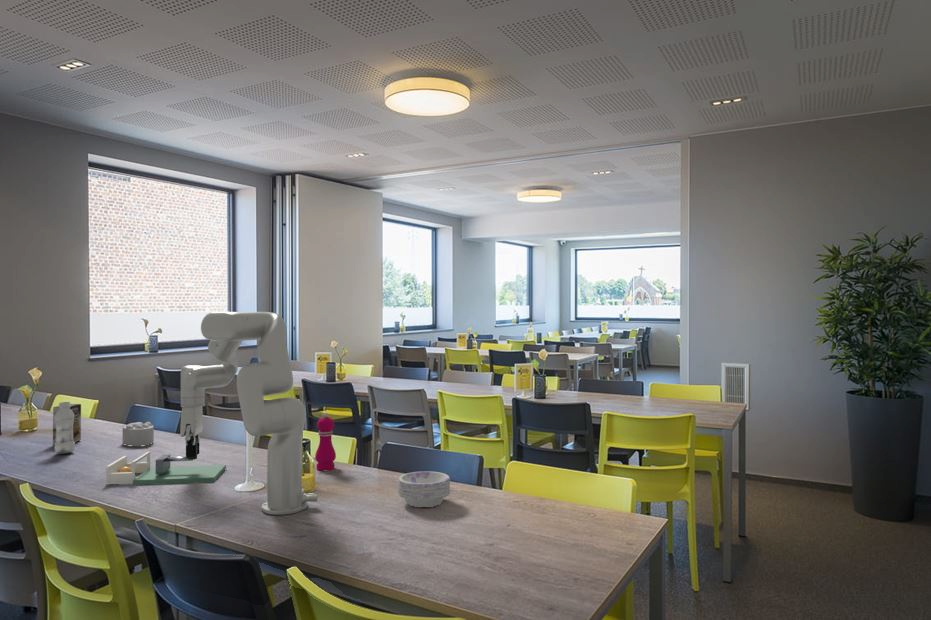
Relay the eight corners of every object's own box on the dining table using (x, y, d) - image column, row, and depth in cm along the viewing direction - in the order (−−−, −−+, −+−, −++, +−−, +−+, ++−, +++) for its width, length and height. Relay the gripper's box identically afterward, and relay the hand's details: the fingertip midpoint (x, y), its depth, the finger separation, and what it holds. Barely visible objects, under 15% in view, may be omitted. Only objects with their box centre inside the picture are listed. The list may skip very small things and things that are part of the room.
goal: (150, 472, 211) (150, 451, 211) (134, 483, 197) (134, 461, 197) (124, 473, 210) (124, 452, 209) (106, 484, 196) (106, 462, 196)
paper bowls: (426, 492, 189) (426, 467, 189) (460, 503, 178) (460, 476, 178) (387, 503, 179) (387, 476, 179) (421, 516, 168) (421, 487, 168)
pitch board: (225, 469, 215) (225, 464, 215) (213, 481, 200) (213, 477, 200) (151, 471, 212) (151, 467, 212) (132, 484, 196) (132, 480, 196)
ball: (136, 472, 205) (129, 462, 205) (131, 475, 201) (124, 465, 201) (125, 479, 205) (119, 469, 205) (120, 482, 201) (114, 472, 201)
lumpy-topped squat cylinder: (144, 439, 263) (144, 419, 263) (159, 443, 256) (159, 423, 256) (119, 443, 255) (119, 423, 255) (134, 448, 247) (134, 427, 247)
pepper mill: (330, 472, 212) (330, 415, 212) (311, 470, 214) (311, 414, 214) (339, 466, 219) (339, 411, 219) (320, 465, 221) (320, 410, 221)
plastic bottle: (78, 453, 238) (78, 402, 238) (59, 456, 233) (59, 404, 233) (70, 450, 242) (70, 400, 242) (51, 454, 236) (51, 403, 236)
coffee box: (67, 446, 250) (67, 407, 250) (52, 446, 250) (52, 407, 250) (81, 441, 259) (81, 403, 259) (66, 441, 259) (66, 403, 259)
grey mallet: (199, 467, 210) (200, 435, 210) (193, 473, 203) (194, 440, 203) (162, 468, 208) (163, 436, 208) (155, 474, 201) (155, 441, 201)
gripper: (188, 398, 214) (188, 450, 214) (173, 405, 197) (173, 462, 198) (210, 398, 215) (210, 449, 215) (197, 405, 199) (197, 461, 199)
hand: (192, 455), depth 206 cm, fingers closed on grey mallet, 2 cm apart
